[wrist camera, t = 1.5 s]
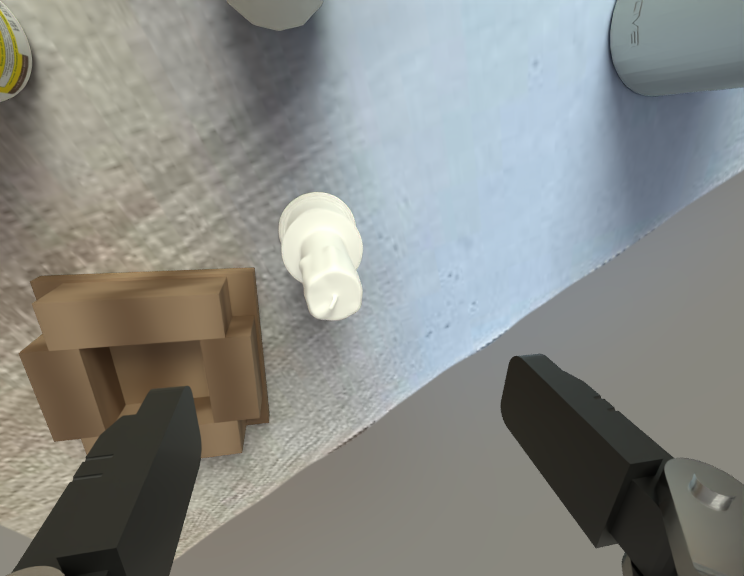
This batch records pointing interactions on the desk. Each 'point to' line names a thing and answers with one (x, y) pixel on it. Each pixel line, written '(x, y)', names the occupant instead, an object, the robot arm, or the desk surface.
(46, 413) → the wooden square tray
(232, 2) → the salt shaker
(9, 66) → the supplement bottle
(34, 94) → the desk surface
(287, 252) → the candle
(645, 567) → the robot arm
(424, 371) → the desk surface
